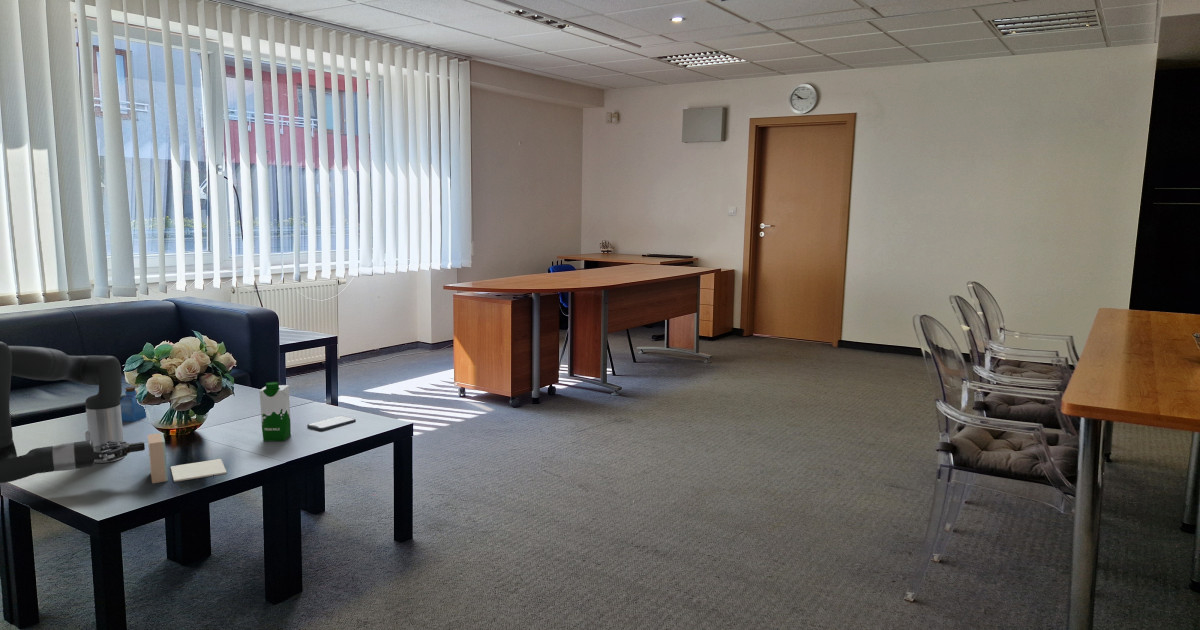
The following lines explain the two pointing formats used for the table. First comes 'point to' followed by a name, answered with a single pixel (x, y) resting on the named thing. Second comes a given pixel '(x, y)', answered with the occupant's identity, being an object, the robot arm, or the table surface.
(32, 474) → the robot arm
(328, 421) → the phone case
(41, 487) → the table surface
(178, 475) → the felt mat
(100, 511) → the table surface
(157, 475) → the beige rectangular block
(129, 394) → the perfume bottle
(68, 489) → the table surface
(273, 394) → the milk carton
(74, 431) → the table surface
